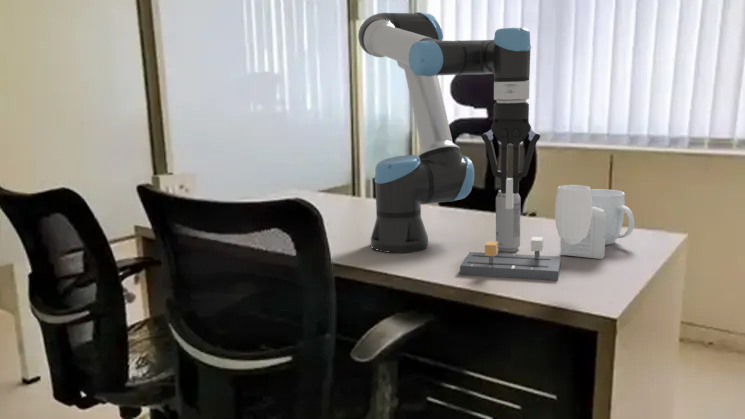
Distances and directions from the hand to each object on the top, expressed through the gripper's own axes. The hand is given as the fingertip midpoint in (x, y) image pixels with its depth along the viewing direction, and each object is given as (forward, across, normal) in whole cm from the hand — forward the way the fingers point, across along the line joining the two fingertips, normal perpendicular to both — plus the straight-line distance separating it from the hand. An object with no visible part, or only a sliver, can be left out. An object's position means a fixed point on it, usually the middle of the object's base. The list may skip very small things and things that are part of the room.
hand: (509, 207), depth 147 cm
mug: (+14, +22, +26) cm, 37 cm away
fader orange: (+12, -3, -5) cm, 13 cm away
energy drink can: (+14, -1, +16) cm, 22 cm away
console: (+14, +1, -2) cm, 14 cm away
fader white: (+12, +6, +1) cm, 13 cm away
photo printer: (+14, +16, +12) cm, 25 cm away
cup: (+14, +14, -13) cm, 23 cm away
